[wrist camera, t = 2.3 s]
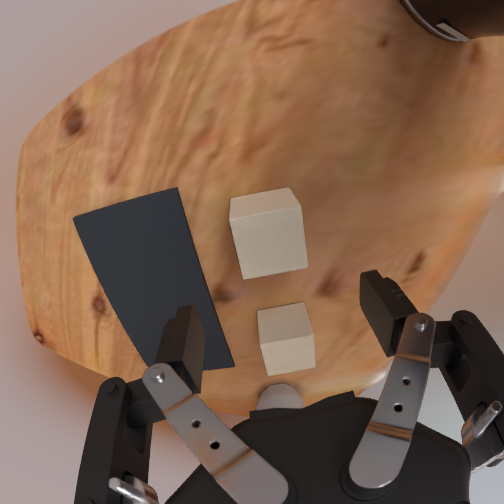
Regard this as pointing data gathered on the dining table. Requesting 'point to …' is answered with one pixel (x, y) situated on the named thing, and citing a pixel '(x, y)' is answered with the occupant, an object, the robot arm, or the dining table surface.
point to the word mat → (151, 271)
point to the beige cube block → (286, 339)
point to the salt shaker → (280, 398)
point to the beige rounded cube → (268, 233)
